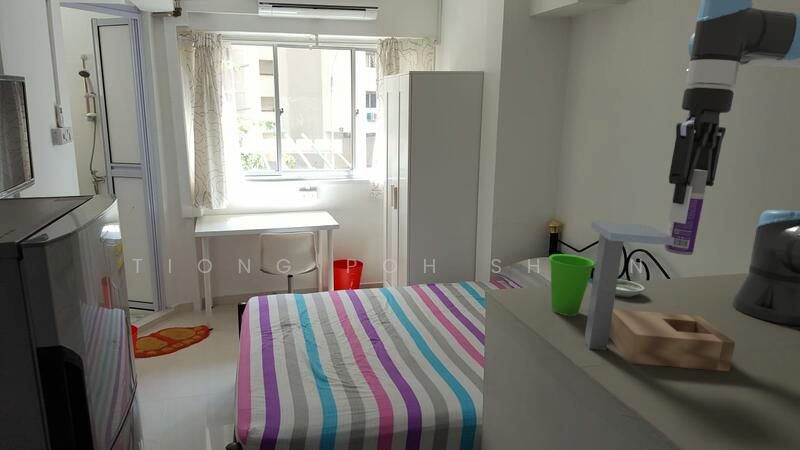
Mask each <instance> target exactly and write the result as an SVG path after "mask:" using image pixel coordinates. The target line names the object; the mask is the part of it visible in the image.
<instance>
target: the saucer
mask: <svg viewBox="0 0 800 450" xmlns="http://www.w3.org/2000/svg"><path fill="white" fill-rule="evenodd" d="M643 292H645V287H644V286H643V284H642V285H641V284H640V283H638V282H634V281H630V280H626V279H620V278H618V280H617V286H616V293H615V297H616V296H617V297H622V298H631V297H634V296H637V295H640V294H641V293H643Z"/></svg>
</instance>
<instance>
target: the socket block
mask: <svg viewBox="0 0 800 450" xmlns="http://www.w3.org/2000/svg"><path fill="white" fill-rule="evenodd" d="M608 339H610V340H611V341H612V342H613V344H614V345H615V346H616V347H617V348H618V350H619V351H620V352H621V353H622V355H624V357H625V358H626V359H627V360H628V361H629V363H630V364H635V365H636V364H638V365H639V364H640V365H649V366H659V367H661V366H662V367H673V368H684V369H685V368H686V369H687V368H688V369H696V370H697V369H698V370H709V371H721V372H730V370H731V365H732V361H733V356H734V351H735V346H736V342H735V341H734V340H732V339H731V338H730V337H728V336H727V335H725V334H724V333H722V332H721V331H720V330H719V329H718V328H716V327H715V326H713V325H712V324H710V323H709V322H708V321H706V320H705V319H704V318H702V316H699V315H691V314H678V313H677V314H676V313H665V312H656V311H655V312H654V311H653V312H652V311H640V310H628V309H627V310H626V309H615V308H613V312H612V318H611V325H610V331H609V338H608Z"/></svg>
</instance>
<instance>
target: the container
mask: <svg viewBox="0 0 800 450" xmlns="http://www.w3.org/2000/svg"><path fill="white" fill-rule="evenodd" d="M707 174H708V171H706V170H699V169H695V170H694V173H693V176H692V180H691V183H690V185H689V186H691V187H692V192H691V198H690V203H689V208H688V213H687V219H686V223H685V224H683V223H678V222H673V221H668V228H667V233H666V234H667V235H669V236H671V237H673V238H675V239H674V245H664V251H665V252H668V253H672V254H676V255H684V256H691V255H693V254H694V249H695V243H696V238H697V235H698V228H699V223H700V222H699V219H700V214H701V215H702V213H701V209H702V210H703V208H702V204H703V205H704V203H703V198H704V192H705V186H706V180H707ZM704 199H705V198H704ZM700 220H701V219H700Z"/></svg>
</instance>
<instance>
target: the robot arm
mask: <svg viewBox="0 0 800 450" xmlns="http://www.w3.org/2000/svg"><path fill="white" fill-rule="evenodd" d="M753 5H754V4H753V0H701V2H700V6H699V9H698V14H697V17H696V20H695V29H694V32H693V34H692V35H691V36H690V38H689V42H688V46H687V48H688V49H687V50H688V51H687V52H688V54H689V57H690V60H689V64H688V68H687V69H686V73H687V76H686V82H685V84H686V85H687V86H689V87H687V88H686V89H684V92H683V96H682V102H681V109H682V110H684V111H687V112H688V111H689V112H688V115H687V118H686V120H685V122H677V124H676V126H675V132H676V133H675V142H674V145H673V146H674V148H673V152H672V158H671V164H670V169H669V173H668V174H669V176H668V182H669V184H671V185H674V187H673V188H674V189H673V193H672V194H673V195H672V199H671V204H670V209H669V210H670V211H669V215H668V222H669V221H673V222H678V223H683V224H685V223H686V219H687V213H688V208H689V203H690V198H691V192H692V187H691V186H689V185H690V183H691V180H692V176H693V173H694V170H695V169H699V170H706V171H708V174H707V180H706V186H705V192H704V198H703V204H702V209H701V214H700V219H699V223H701V218H702V213H703V207H704V202H705V197H706V191H707V187H713V186H714V183H715V182H714V181H715V179H716V175H717V174H716V173H717V169H718V165H719V164H718V163H719V157H720V154H721V148H722V143H723V140H724V137H725V135H726V131H727V129H726V127H723V126H720V115H721V114H726V113H729V112H730V111H731V109H732V105H733V100H734V94H735V92H734V91H733V90H732V88H734V87H736V85H737V81H738V76H739V69H740V65H741V66H742V65H744V66H757V67H758V66H762V67H763V66H764V67H765V66H766V67H775V68H776V67H778V68H780V67H781V68H796V69H797V68H798V69H800V14H798V13H796V12H794V11H792V12H787V11H786V12H785V11H777V10H769V9H768V10H767V9H760V8H756V7H753ZM732 306H733V307H734V309H736V310H738V311H739V312H741V313H743V314H746V315H748V316H751V317H755V318H757V319H761V320H764V321H767V322H768V321H769V322H773V323H778V324H782V325H783V324H784V325H790V326H800V210H799V211H798V210H785V209H784V210H782V209H780V210H779V209H767V210H764V211H763V212H762V213H761V214H760V218H759V221H758V223H757V225H756V231H755V235H754V242H753V247H752V253H751V259H750V263H749V268H748V273H747V275H746V276H745V278H744V280H742V283H741V284H740V286H739V288H738V289H737V291H736V293H735V294H734V296H733V302H732Z"/></svg>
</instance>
